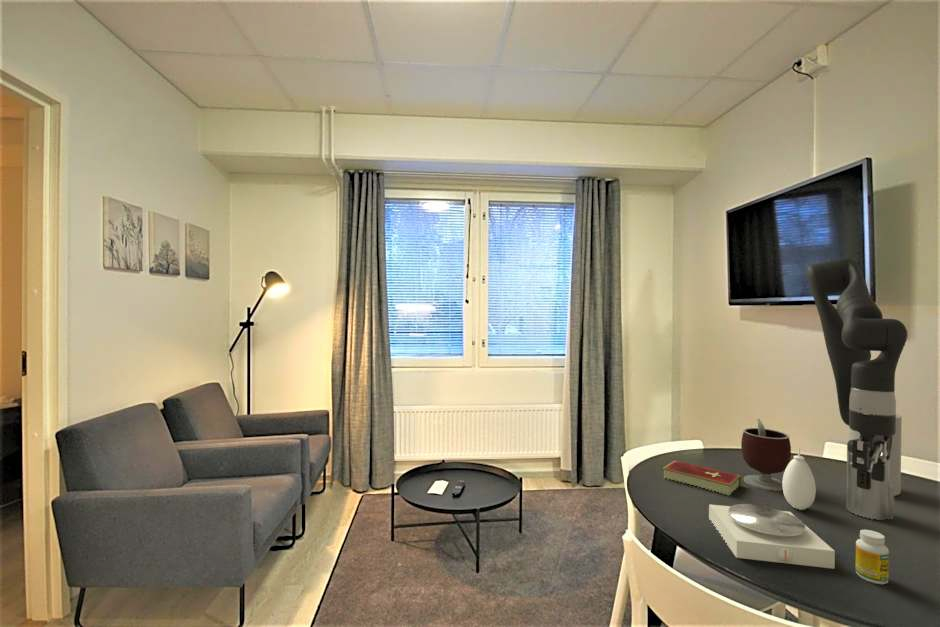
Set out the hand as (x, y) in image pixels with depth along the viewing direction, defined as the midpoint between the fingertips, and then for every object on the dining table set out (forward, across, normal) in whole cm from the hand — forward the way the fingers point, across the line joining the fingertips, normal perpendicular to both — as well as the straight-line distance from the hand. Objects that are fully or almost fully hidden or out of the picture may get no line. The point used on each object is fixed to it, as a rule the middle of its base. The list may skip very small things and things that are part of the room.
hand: (870, 484), depth 96 cm
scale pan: (+15, +3, -19) cm, 25 cm away
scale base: (+20, +3, -20) cm, 28 cm away
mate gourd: (+20, -40, -38) cm, 59 cm away
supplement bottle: (+20, 0, 0) cm, 21 cm away
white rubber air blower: (+20, -26, -23) cm, 40 cm away
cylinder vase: (+20, -64, -16) cm, 69 cm away
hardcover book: (+21, -22, -50) cm, 58 cm away
